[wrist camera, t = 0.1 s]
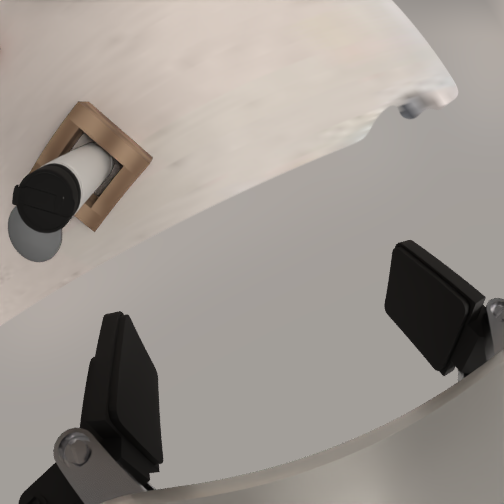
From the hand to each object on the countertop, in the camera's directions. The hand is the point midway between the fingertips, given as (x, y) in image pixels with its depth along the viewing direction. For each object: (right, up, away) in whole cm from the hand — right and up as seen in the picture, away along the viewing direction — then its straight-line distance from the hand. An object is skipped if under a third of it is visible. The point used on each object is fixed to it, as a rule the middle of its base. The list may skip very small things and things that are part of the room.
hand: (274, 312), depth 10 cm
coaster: (-37, +5, +30) cm, 48 cm away
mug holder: (-24, +15, +29) cm, 40 cm away
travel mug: (-24, +15, +29) cm, 41 cm away
